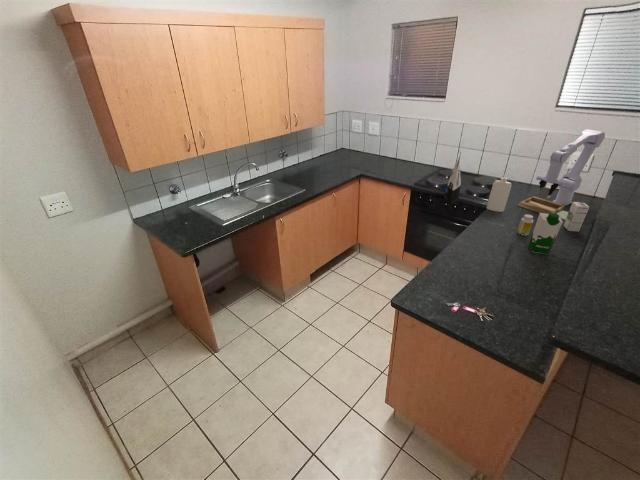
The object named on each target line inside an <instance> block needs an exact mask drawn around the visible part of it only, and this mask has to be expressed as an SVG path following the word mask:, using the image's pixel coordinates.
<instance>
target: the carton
mask: <svg viewBox="0 0 640 480" xmlns="http://www.w3.org/2000/svg"><path fill="white" fill-rule="evenodd" d="M518 207H521V208H524V209H527V210H529V211H533V212H535V213H539V214H540V213H545V214H549V213H554V214H556V213H558V212H560V211H562V210H563V211H564V208H565V205H562V204H559V203H555V202H552V201H550V200H548V199H542V198H539V197H538V196H531V197H529V198H526V199H524V200H522V201H520V202H519V203H518Z"/></svg>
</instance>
